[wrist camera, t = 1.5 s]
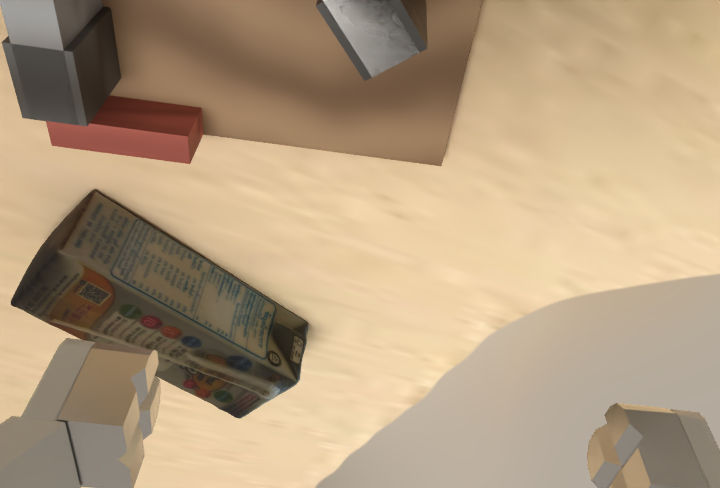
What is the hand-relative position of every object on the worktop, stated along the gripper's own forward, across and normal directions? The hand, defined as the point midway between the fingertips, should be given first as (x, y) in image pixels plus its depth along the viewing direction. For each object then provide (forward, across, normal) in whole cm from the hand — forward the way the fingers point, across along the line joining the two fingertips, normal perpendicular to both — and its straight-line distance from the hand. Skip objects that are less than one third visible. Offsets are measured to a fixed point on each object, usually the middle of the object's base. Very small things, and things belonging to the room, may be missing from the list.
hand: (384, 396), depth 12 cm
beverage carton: (+29, +11, +25) cm, 40 cm away
